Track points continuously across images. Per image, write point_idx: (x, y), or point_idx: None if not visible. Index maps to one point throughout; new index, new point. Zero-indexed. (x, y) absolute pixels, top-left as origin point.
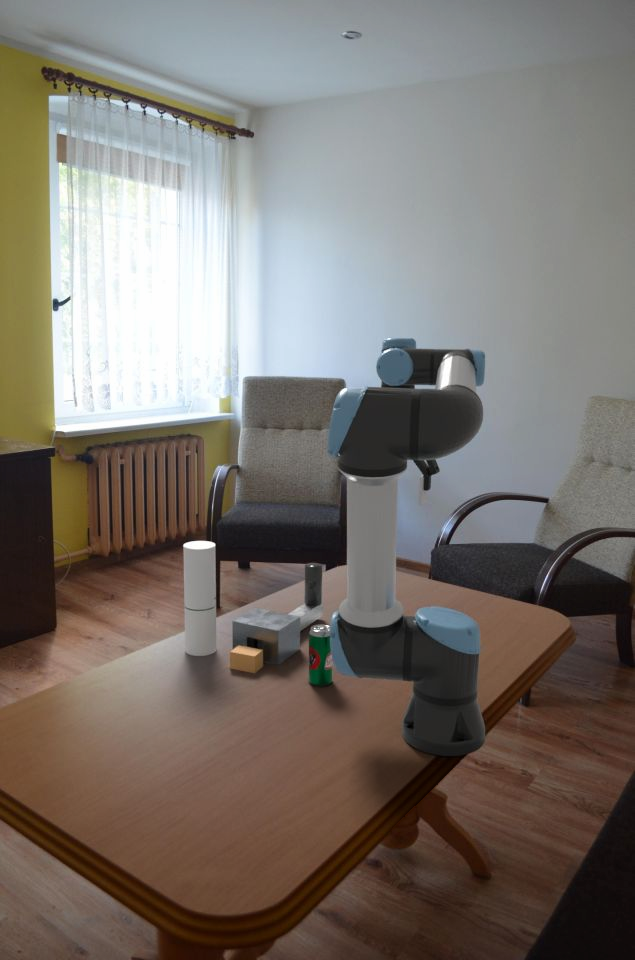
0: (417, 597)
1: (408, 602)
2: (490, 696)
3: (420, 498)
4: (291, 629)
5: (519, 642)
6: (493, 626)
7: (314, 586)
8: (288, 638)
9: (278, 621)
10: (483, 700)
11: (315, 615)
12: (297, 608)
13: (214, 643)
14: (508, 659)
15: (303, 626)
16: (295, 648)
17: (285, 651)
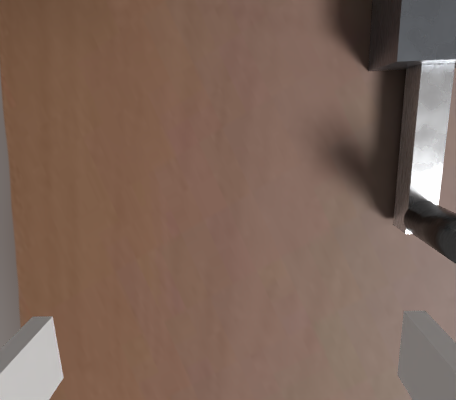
0: (278, 393)
1: (283, 365)
2: (8, 68)
3: (16, 343)
4: (392, 21)
5: (59, 291)
6: (119, 333)
7: (436, 216)
8: (387, 12)
9: (430, 4)
10: (11, 47)
11: (400, 198)
12: (440, 175)
13: None
14: (45, 220)
15: (401, 147)
16: (372, 51)
17: (378, 5)
